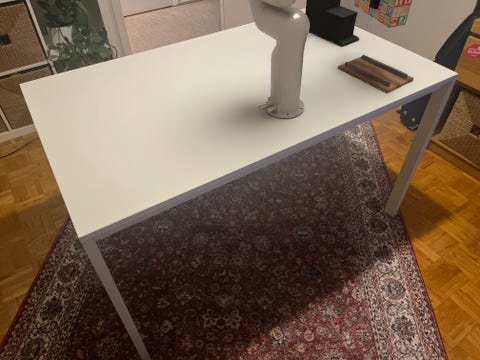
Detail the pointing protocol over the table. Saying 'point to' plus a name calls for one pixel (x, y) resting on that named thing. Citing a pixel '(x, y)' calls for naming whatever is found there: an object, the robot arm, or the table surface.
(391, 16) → the stack of blocks
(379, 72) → the slot board
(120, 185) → the table surface
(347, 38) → the bookend
